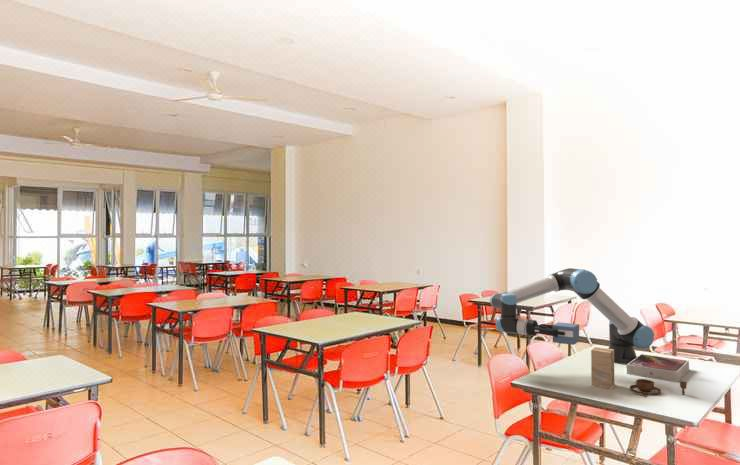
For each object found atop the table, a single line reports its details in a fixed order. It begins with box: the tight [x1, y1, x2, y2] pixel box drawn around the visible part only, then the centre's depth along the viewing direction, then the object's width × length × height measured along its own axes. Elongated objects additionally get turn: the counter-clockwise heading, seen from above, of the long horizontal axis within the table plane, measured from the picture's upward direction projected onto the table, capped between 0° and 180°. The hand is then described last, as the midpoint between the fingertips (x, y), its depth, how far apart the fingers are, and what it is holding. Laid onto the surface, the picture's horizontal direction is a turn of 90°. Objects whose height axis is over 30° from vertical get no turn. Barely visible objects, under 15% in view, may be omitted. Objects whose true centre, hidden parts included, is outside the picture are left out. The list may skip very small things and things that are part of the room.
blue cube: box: [552, 321, 580, 346], centre depth 234 cm, size 9×9×8 cm
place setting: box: [629, 378, 688, 398], centre depth 216 cm, size 18×20×6 cm
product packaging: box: [626, 353, 690, 383], centre depth 250 cm, size 22×28×5 cm
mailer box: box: [590, 346, 615, 390], centre depth 228 cm, size 8×8×16 cm
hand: (575, 332), depth 231 cm, fingers closed on blue cube, 9 cm apart
